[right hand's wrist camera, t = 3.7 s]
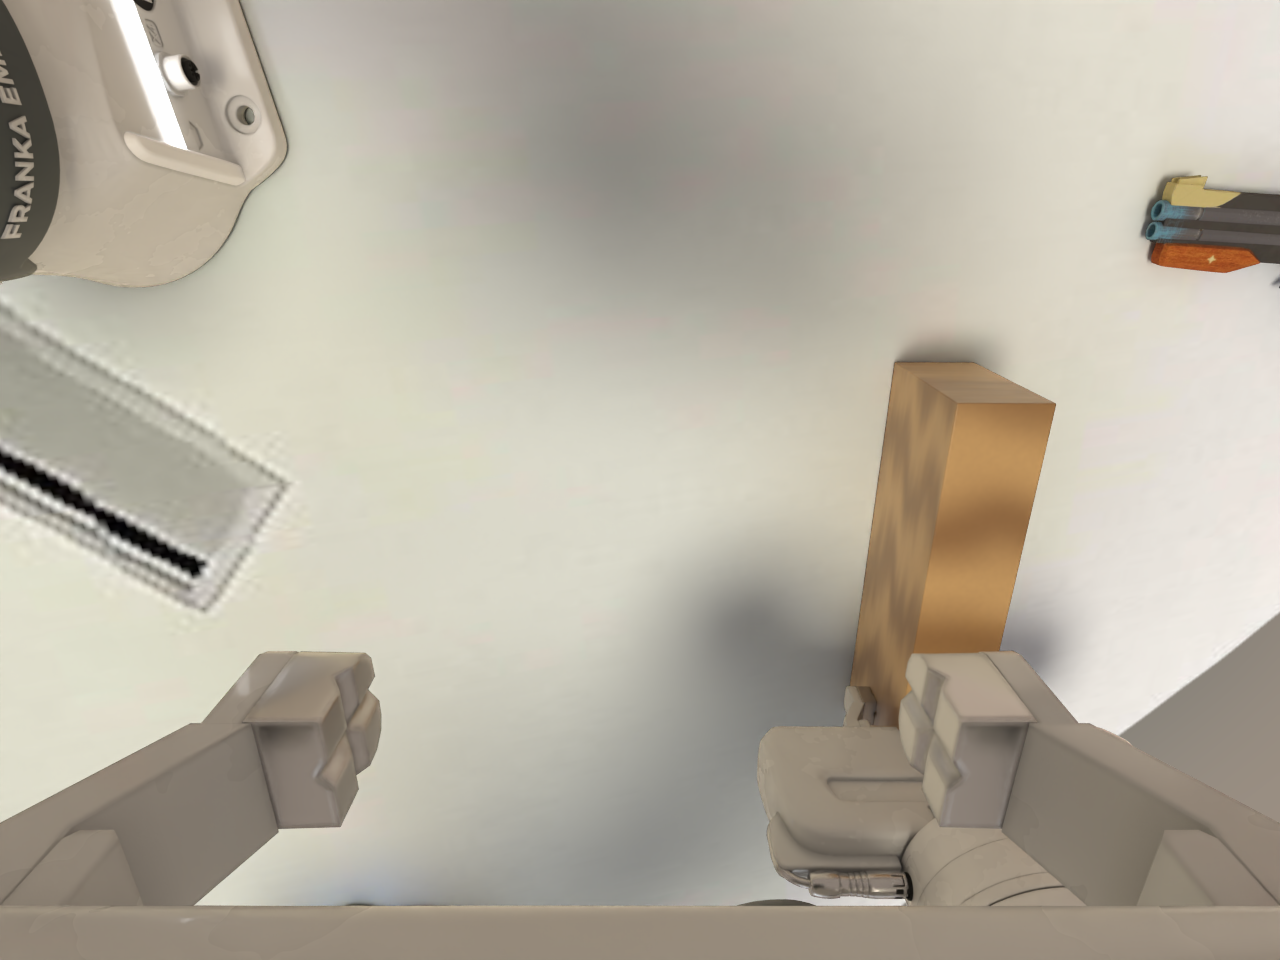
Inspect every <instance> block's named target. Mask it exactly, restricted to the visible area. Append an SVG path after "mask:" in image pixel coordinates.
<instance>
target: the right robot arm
mask: <svg viewBox="0 0 1280 960" xmlns="http://www.w3.org/2000/svg"><path fill="white" fill-rule="evenodd" d="M248 107H249V108H250V109H251V110H252V111H253V113H254V121H253V123H252V124H250V125H249V124H247V122H246V121H245V118H244V112H245V110H246V109H247V108H248ZM286 151H287V143H286V138H285V134H284V131H283V128H282V125H281V122H280V119H279V116H278V114H277V111H276V108H275V105H274V102H273V99H272V96H271V93H270V90H269V87H268V85H267V82H266V79H265V76H264V73H263V70H262V67H261V64H260V61H259V58H258V56H257V53H256V50H255V47H254V44H253V41H252V38H251V35H250V32H249V29H248V27H247V24H246V21H245V18H244V15H243V12H242V9H241V6H240V3H239V1H238V0H0V285H1V284H2V282H3V281H8V280H13V279H18V278H22V277H26V276H29V275H56V276H69V277H77V278H83V279H88V280H92V281H95V282H99V283H103V284H108V285H113V286H120V287H151V286H157V285H162V284H166V283H170V282H173V281H176V280H178V279H181V278H183V277H185V276H187V275H189V274H191V273H192V272H194V271H196V270H197V269H199V268H200V267H201V266H203V265H204V264H205V263H206V262H207V261H208V260H210V259H211V258H212V257H213V256H214V254H215V253H216V252H217V251H218V250H219V249H220V247H221V246H222V245H223V243H224V242H225V240H226V239H227V237H228V236H229V234H230V232H231V230H232V228H233V226H234V223H235V221H236V219H237V216H238V214H239V212H240V209H241V207H242V205H243V203H244V201H245V199H246V197H247V196H248V194H249V193H250V191H251V190H253V189H254V188H255V187H256V186H258V185H259V184H260V183H261V182H263V181H264V180H265V179H266V178H268V177H269V176H270V175H271V174H272V173H273V172H274V171H275V170H276V169H277V168H278V167H279V166H280V165H281V163H282V161H283V160H284V158H285V155H286ZM374 677H375V674H374V669H373V664H372V660H371V657H370V656H368V655H367V654H366V653H354V652H308V651H301V652H297V651H268V652H265V653H262V654H260V655H259V656H258V657H257V658H256V659H255V660H254V661H253V662H252V664H251V665H250V666H249V667H248V668H247V670H246V671H245V672H244V673H243V674H242V676H241V677H240V678H239V679H238V680H237V681H236V683H235V684H234V685H233V686H232V687H231V689H230V690H229V691H228V692H227V693H226V694H225V696H224V697H223V698H222V699H221V700H220V702H219V703H218V704H217V705H216V706H215V708H214V709H213V710H212V711H211V712H210V713H209V715H208V716H207V717H206V718H205V719H204V721H203V722H202V723H190V724H188V725H186V726H184V727H182V728H181V729H179V730H177V731H175V732H173V733H171V734H169V735H167V736H165V737H163V738H161V739H160V740H158V741H156V742H154V743H152V744H150V745H148V746H146V747H144V748H142V749H140V750H139V751H137V752H135V753H133V754H131V755H129V756H127V757H125V758H123V759H121V760H119V761H118V762H116V763H114V764H112V765H110V766H108V767H106V768H104V769H102V770H100V771H98V772H97V773H95V774H93V775H91V776H89V777H87V778H85V779H83V780H81V781H79V782H77V783H75V784H74V785H72V786H70V787H68V788H66V789H64V790H62V791H60V792H58V793H56V794H54V795H53V796H51V797H49V798H47V799H45V800H43V801H41V802H39V803H37V804H35V805H33V806H32V807H30V808H28V809H26V810H24V811H22V812H20V813H18V814H16V815H14V816H12V817H11V818H9V819H7V820H5V821H3V822H1V823H0V960H1280V823H1278V822H1277V821H1275V820H1273V819H1271V818H1269V817H1267V816H1265V815H1263V814H1261V813H1259V812H1257V811H1256V810H1254V809H1252V808H1250V807H1248V806H1246V805H1244V804H1242V803H1240V802H1238V801H1237V800H1235V799H1233V798H1231V797H1229V796H1227V795H1225V794H1223V793H1221V792H1219V791H1217V790H1216V789H1214V788H1212V787H1210V786H1208V785H1206V784H1204V783H1202V782H1200V781H1198V780H1197V779H1195V778H1193V777H1191V776H1189V775H1187V774H1185V773H1183V772H1181V771H1179V770H1178V769H1176V768H1174V767H1172V766H1170V765H1168V764H1166V763H1164V762H1162V761H1160V760H1158V759H1157V758H1155V757H1153V756H1151V755H1149V754H1147V753H1145V752H1143V751H1141V750H1139V749H1137V748H1136V747H1134V746H1132V745H1130V744H1128V743H1126V742H1124V741H1122V740H1120V739H1118V738H1117V737H1115V736H1113V735H1111V734H1109V733H1107V732H1105V731H1103V730H1101V729H1099V728H1098V727H1096V726H1094V725H1092V724H1090V723H1078V722H1077V721H1076V719H1075V718H1074V717H1073V716H1072V715H1071V713H1070V712H1069V711H1068V710H1067V709H1066V708H1065V706H1064V705H1063V704H1062V703H1061V702H1060V700H1059V699H1058V698H1057V697H1056V696H1055V695H1054V693H1053V692H1052V691H1051V690H1050V689H1049V687H1048V686H1047V685H1046V684H1045V683H1044V682H1043V680H1042V679H1041V678H1040V677H1039V676H1038V674H1037V673H1036V672H1035V671H1034V670H1033V668H1032V667H1031V666H1030V665H1029V664H1028V663H1027V661H1026V660H1025V659H1024V658H1023V657H1022V655H1020V654H1018V653H1016V652H1014V651H991V652H979V653H912V655H911V657H910V658H909V660H908V663H907V668H906V674H905V677H906V679H907V681H908V683H909V684H910V686H911V688H912V690H911V691H910V692H909V693H908V694H907V695H906V696H905V697H904V698H903V699H902V700H901V703H900V711H899V718H898V720H899V733H900V740H901V743H902V747H903V751H904V753H905V756H906V758H907V760H908V762H909V764H910V766H912V767H913V768H914V769H916V770H917V771H919V772H920V773H921V774H923V775H924V777H923V783H922V788H921V790H922V792H923V794H924V796H925V798H926V800H927V802H928V804H929V806H930V808H931V810H932V812H933V814H934V816H935V818H936V820H937V823H938V825H939V827H955V828H990V829H1002V831H1001V832H1002V833H1003V834H1004V835H1006V836H1007V837H1008V838H1009V839H1010V840H1011V841H1013V842H1014V843H1015V844H1016V845H1017V846H1018V847H1020V848H1021V849H1022V850H1023V851H1024V852H1025V853H1026V854H1028V855H1029V856H1030V857H1031V858H1032V859H1033V860H1035V861H1036V862H1037V863H1038V864H1039V865H1040V866H1042V867H1043V868H1044V869H1045V870H1046V871H1047V872H1048V873H1050V874H1051V875H1052V876H1053V877H1054V878H1055V879H1057V880H1058V881H1059V882H1060V883H1061V884H1062V885H1064V886H1065V887H1066V888H1067V889H1068V890H1069V891H1070V892H1072V893H1073V894H1074V895H1075V896H1076V897H1077V898H1079V899H1080V900H1081V901H1082V902H1083V903H1084V904H1086V905H1087V906H194V905H195V904H196V903H197V902H198V901H199V900H200V899H202V898H203V897H204V896H205V895H206V894H207V893H209V892H210V891H211V890H212V889H213V888H214V887H216V886H217V885H218V884H219V883H220V882H221V881H223V880H224V879H225V878H226V877H227V876H228V875H229V874H231V873H232V872H233V871H234V870H235V869H236V868H238V867H239V866H240V865H241V864H242V863H243V862H245V861H246V860H247V859H248V858H249V857H250V856H252V855H253V854H254V853H255V852H256V851H257V850H258V849H260V848H261V847H262V846H263V845H264V844H265V843H267V842H268V841H269V840H270V839H271V838H272V837H274V836H275V835H276V834H277V833H278V829H289V828H324V827H341V825H342V823H343V821H344V819H345V817H346V814H347V812H348V810H349V808H350V806H351V804H352V802H353V800H354V798H355V796H356V794H357V792H358V790H359V788H358V783H357V777H356V775H357V774H359V773H360V772H361V771H363V770H364V769H366V768H367V767H368V766H370V764H371V762H372V760H373V758H374V755H375V753H376V751H377V748H378V743H379V738H380V733H381V709H380V703H379V700H378V699H377V698H376V697H375V696H374V695H373V694H372V693H371V692H370V691H369V690H368V688H369V686H370V685H371V683H372V681H373V679H374Z"/></svg>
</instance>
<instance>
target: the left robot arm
mask: <svg viewBox="0 0 1280 960" xmlns="http://www.w3.org/2000/svg"><path fill="white" fill-rule="evenodd" d="M876 707H877V700H876V698H875V696H874V694H872V690H871V688H870V687H869V686H847V687H846V690H845V697H844V708H845V711H846V716H845V718H844V724H843V727H796V726H778V727H773V728H771V729H770V730H769V731H768V732H767V733H766V734H765V736H764V737H763V738H762V739H761V741H760V745H759V751H758V763H757V782H758V787H759V791H760V795H761V799H762V802H763V805H764V808H765V811H766V814H767V817H768V820H769V824H768V827H767V840H768V845H769V850H770V855H771V860H772V862H773V865H774V868H775V870H776V871H777V873H778V874H779V875H780V876H781V877H783V878H785V879H786V880H788V881H789V882H791V883H793V884H795V885H797V886H799V887H803V888H807V889H809V893H810V895H811V896H814V897H819V898H827V899H834V898H840V896H849V895H850V896H857V897H865V898H874V899H905V900H906V903H907V906H1087V905H1086V904H1084V903H1083V902H1082V901H1081V900H1080V899H1079V898H1077V897H1076V896H1075V895H1074V894H1073V893H1072V892H1070V891H1069V890H1068V889H1067V888H1066V887H1065V886H1064V885H1062V884H1061V883H1060V882H1059V881H1058V880H1057V879H1055V878H1054V877H1053V876H1052V875H1051V874H1050V873H1048V872H1047V871H1046V870H1045V869H1044V868H1043V867H1042V866H1040V865H1039V864H1038V863H1037V862H1036V861H1035V860H1033V859H1032V858H1031V857H1030V856H1029V855H1028V854H1026V853H1025V852H1024V851H1023V850H1022V849H1021V848H1020V847H1018V846H1017V845H1016V844H1015V843H1014V842H1013V841H1011V840H1010V839H1009V838H1008V837H1007V836H1006V835H1004V834H1003V833H1002V832H1001V831H1002V829H990V828H955V827H939V825H938V823H937V820H936V818H935V816H934V814H933V812H932V810H931V808H930V806H929V804H928V802H927V800H926V798H925V796H924V794H923V792H922V790H921V788H922V783H923V777H924V775H923V774H921V773H920V772H919V771H917V770H916V769H914V768H913V767H912V766H910V764H909V762H908V760H907V758H906V756H905V753H904V751H903V747H902V743H901V740H900V733H899V730H898V729H897V727H871V726H870V725H874V719H875V715H874V713H875V712H876ZM1099 729H1101V730H1103V731H1105V732H1107V733H1109V734H1111V735H1113V736H1115V737H1117V738H1118V739H1120V740H1122V741H1124V742H1126V743H1128V744H1130V743H1129V742H1128V741H1127V740H1125V739H1123V738H1121V737H1119V736H1117V735H1115V734H1113V733H1111V732H1109V731H1107V730H1104V729H1102V728H1099ZM1130 745H1131V744H1130ZM737 906H816V905H813V904H810V903H806V902H802V901H796V900H785V899H784V900H763V901H755V902H750V903H746V904H741V905H737Z"/></svg>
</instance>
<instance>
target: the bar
mask: <svg viewBox="0 0 1280 960" xmlns="http://www.w3.org/2000/svg"><path fill="white" fill-rule="evenodd" d="M1055 407H1056V403H1054V402H1052V401H1050V400H1048V399H1046V398H1044V397H1042V396H1040V395H1038V394H1036V393H1034V392H1032V391H1030V390H1028V389H1026V388H1024V387H1022V386H1020V385H1018V384H1016V383H1014V382H1012V381H1010V380H1008V379H1006V378H1004V377H1002V376H1000V375H998V374H996V373H994V372H992V371H990V370H988V369H986V368H984V367H982V366H980V365H978V364H976V363H973V362H896V363H895V365H894V372H893V379H892V386H891V393H890V401H889V408H888V415H887V422H886V429H885V437H884V444H883V451H882V458H881V465H880V473H879V480H878V487H877V494H876V501H875V508H874V516H873V523H872V530H871V537H870V544H869V552H868V559H867V566H866V573H865V580H864V588H863V595H862V602H861V609H860V616H859V624H858V631H857V638H856V645H855V652H854V659H853V667H852V674H851V681H850V686H869V687H870V688H871V690H872V694H874V696H875V698H876V700H877V707H876V712H875V713H874V715H875V719H874V725H870V726H871V727H897V729H898V730H899V720H898V718H899V711H900V703H901V700H902V699H903V698H904V697H905V696H906V695H907V694H908V693H909V692H910V691H911V690H912V688H911V686H910V684H909V683H908V681H907V679H906V677H905V674H906V668H907V663H908V660H909V658H910V657H911V655H912V653H979V652H991V651H999V649H1000V645H1001V641H1002V636H1003V632H1004V628H1005V623H1006V619H1007V615H1008V610H1009V606H1010V602H1011V597H1012V593H1013V589H1014V584H1015V580H1016V576H1017V571H1018V567H1019V563H1020V558H1021V554H1022V550H1023V545H1024V541H1025V537H1026V532H1027V528H1028V524H1029V519H1030V515H1031V511H1032V506H1033V502H1034V498H1035V493H1036V489H1037V485H1038V480H1039V476H1040V472H1041V468H1042V463H1043V459H1044V455H1045V450H1046V446H1047V442H1048V437H1049V433H1050V429H1051V424H1052V420H1053V416H1054V411H1055Z"/></svg>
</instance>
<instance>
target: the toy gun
mask: <svg viewBox="0 0 1280 960" xmlns="http://www.w3.org/2000/svg"><path fill="white" fill-rule="evenodd" d="M1206 180H1207V176H1205V177H1201V175H1198V176H1188V177H1178V178H1172V180H1171V182H1167V184H1166V187H1165V189H1164V192H1163V197H1162V200H1160V201H1157V202H1156V203H1155V204H1154V206H1153V208H1152V211H1151V218H1152V219H1153V220H1157V222H1151V223H1150V224H1149V225H1148V227H1147V229H1146V233H1145V236H1146V239H1148V240H1150V241H1152V242H1155V243H1156V245H1155V248H1154V250H1153V253H1152V255H1151V262H1152V263H1155V264H1157V265H1160V266H1165V267H1174V268H1182V269H1191V270H1200V271H1209V272H1220V273H1227V272H1231V271H1235V270H1238V269H1242V268H1245V267H1249V266H1252V265H1256V264H1259V263H1260V262H1262V263H1276V264H1280V195H1272V194H1256V193H1243V192H1234V191H1224V190H1210V189H1203V188H1204V185H1205V183H1206ZM1279 288H1280V287H1279Z"/></svg>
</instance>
